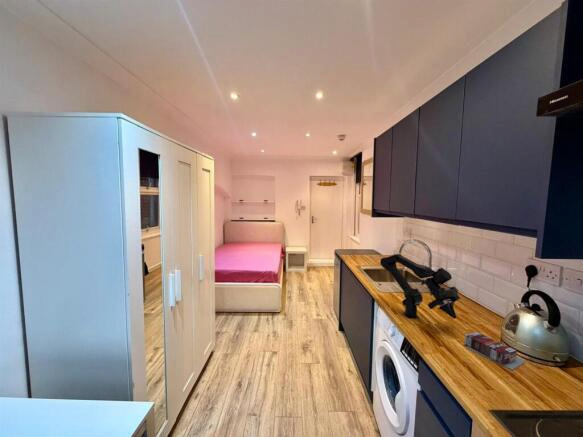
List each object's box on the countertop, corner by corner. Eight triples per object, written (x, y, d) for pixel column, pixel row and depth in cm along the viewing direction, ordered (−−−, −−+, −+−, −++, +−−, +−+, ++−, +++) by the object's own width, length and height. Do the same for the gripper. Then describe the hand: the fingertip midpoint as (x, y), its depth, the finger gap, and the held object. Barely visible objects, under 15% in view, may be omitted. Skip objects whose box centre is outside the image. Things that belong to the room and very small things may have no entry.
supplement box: (477, 331, 119) (517, 350, 104) (476, 340, 119) (516, 361, 105) (464, 334, 116) (504, 354, 101) (463, 344, 116) (503, 365, 102)
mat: (465, 347, 114) (465, 347, 114) (480, 341, 120) (480, 340, 120) (512, 370, 99) (512, 369, 99) (526, 362, 105) (526, 361, 105)
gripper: (435, 284, 123) (457, 315, 114) (457, 279, 131) (479, 308, 123) (419, 294, 130) (439, 324, 121) (441, 289, 139) (461, 317, 130)
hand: (455, 318), depth 124 cm, fingers closed
